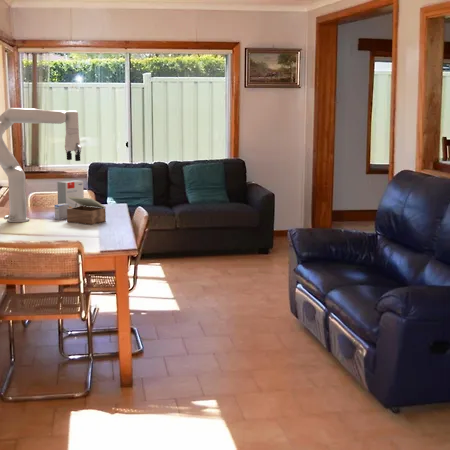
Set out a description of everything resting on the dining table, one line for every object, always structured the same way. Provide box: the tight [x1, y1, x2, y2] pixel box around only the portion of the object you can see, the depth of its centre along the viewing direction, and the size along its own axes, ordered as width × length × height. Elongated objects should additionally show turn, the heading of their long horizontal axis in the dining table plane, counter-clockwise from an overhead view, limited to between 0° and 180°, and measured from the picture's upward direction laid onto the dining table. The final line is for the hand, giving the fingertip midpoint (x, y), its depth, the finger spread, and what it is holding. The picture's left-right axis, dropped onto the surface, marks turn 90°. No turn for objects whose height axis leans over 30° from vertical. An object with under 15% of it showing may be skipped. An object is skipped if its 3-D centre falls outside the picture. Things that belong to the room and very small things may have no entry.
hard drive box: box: [56, 179, 85, 208], centre depth 454 cm, size 16×8×20 cm, turn 143°
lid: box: [68, 196, 107, 209], centre depth 422 cm, size 13×18×1 cm
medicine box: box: [53, 203, 69, 221], centre depth 433 cm, size 8×4×9 cm, turn 141°
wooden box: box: [66, 206, 107, 226], centre depth 422 cm, size 13×18×8 cm
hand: (73, 160), depth 429 cm, fingers open, 9 cm apart
